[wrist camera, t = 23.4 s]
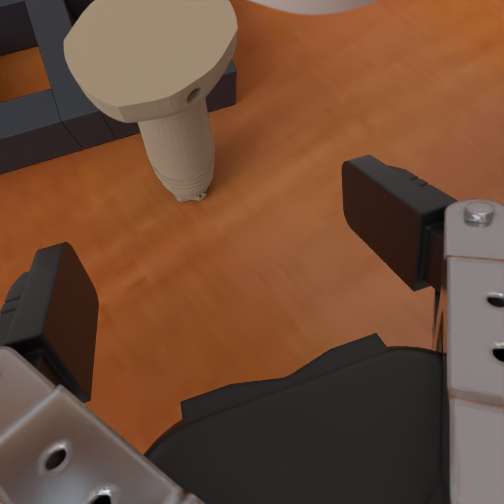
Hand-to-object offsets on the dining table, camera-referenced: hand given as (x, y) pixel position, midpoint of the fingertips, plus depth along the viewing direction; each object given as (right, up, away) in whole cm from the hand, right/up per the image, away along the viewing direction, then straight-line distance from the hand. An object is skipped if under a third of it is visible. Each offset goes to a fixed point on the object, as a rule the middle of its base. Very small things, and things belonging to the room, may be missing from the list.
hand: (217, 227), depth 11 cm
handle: (-4, +4, +18) cm, 19 cm away
